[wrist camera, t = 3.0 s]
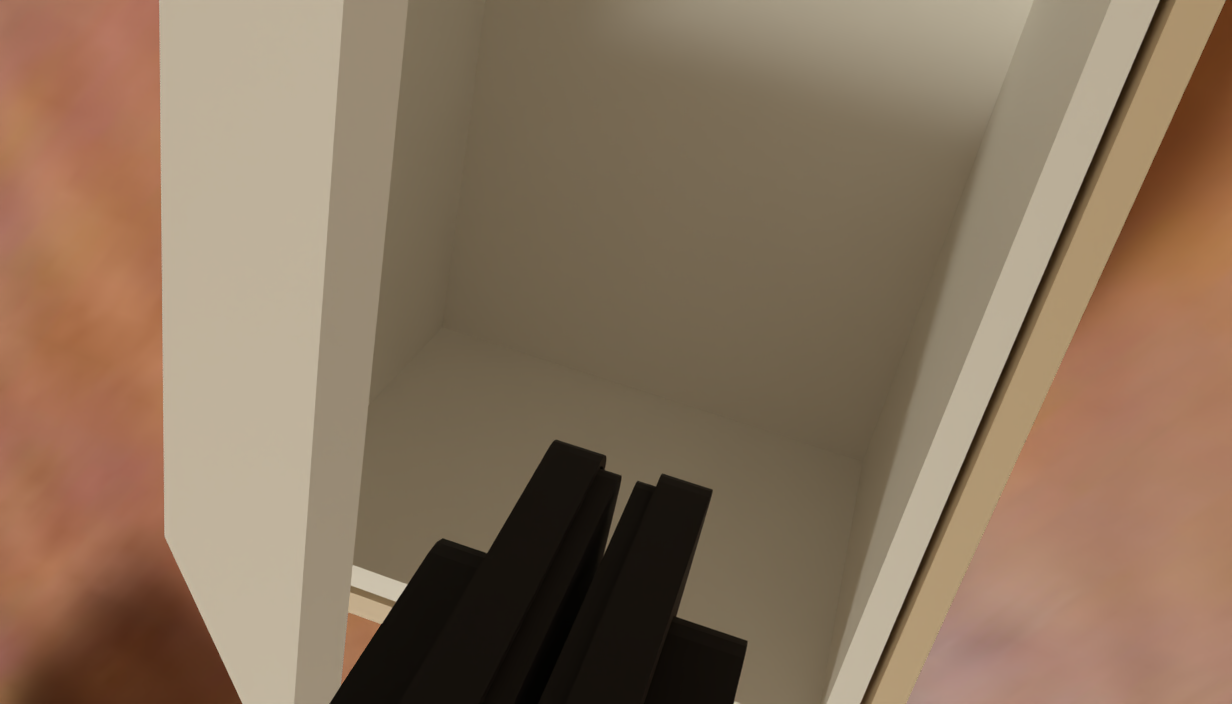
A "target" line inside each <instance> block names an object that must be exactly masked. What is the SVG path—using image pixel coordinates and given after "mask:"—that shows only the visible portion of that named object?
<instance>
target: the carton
mask: <svg viewBox="0 0 1232 704" xmlns="http://www.w3.org/2000/svg"><path fill="white" fill-rule="evenodd" d="M1225 1H1226V0H408V9H407V19H406V29H405V39H404V50H403V60H402V70H401V80H400V90H399V100H398V110H397V121H396V131H395V141H394V151H393V161H392V171H391V181H390V192H389V202H388V212H387V222H386V232H385V242H384V252H383V262H382V273H381V283H380V293H379V303H378V313H377V323H376V333H375V344H374V354H373V364H372V374H371V384H370V394H369V404H368V415H367V425H366V435H365V445H364V455H363V465H362V475H361V485H360V496H359V506H358V516H357V526H356V536H355V546H354V556H353V567H352V577H351V587H350V597H349V607H348V612H349V613H352V614H355V615H358V616H360V617H363V618H366V619H369V620H371V621H374V622H377V623H380V624H382V623H383V621H384V620H385V618H386V616H387V615H388V613H389V612H390V610H391V609H392V607H393V606H394V604H395V603H396V601H397V600H398V598H399V597H400V595H401V594H402V592H403V591H404V589H405V588H406V586H407V584H408V583H409V581H410V580H411V578H412V577H413V575H414V574H415V572H416V571H417V569H418V568H419V566H420V565H421V563H422V562H423V560H424V559H425V557H426V555H427V554H428V552H429V551H430V550H431V549H432V547H433V546H434V545H435V543H436V542H437V541H439V540H441V539H442V538H444V539H447V540H450V541H453V542H456V543H459V544H462V545H465V546H468V547H470V548H473V549H476V550H479V551H482V552H485V553H488V551H489V549H490V547H491V546H492V544H493V542H494V541H495V539H496V537H497V535H498V534H499V532H500V530H501V529H502V527H503V525H504V523H505V522H506V520H507V518H508V517H509V515H510V513H511V511H512V510H513V508H514V506H515V505H516V503H517V501H518V499H519V498H520V496H521V494H522V493H523V491H524V489H525V487H526V486H527V484H528V482H529V481H530V479H531V477H532V476H533V474H534V472H535V470H536V469H537V467H538V465H539V464H540V462H541V460H542V458H543V457H544V455H545V453H546V452H547V450H548V448H549V446H550V445H551V444H552V442H553V441H554V440H559V441H563V442H566V443H569V444H572V445H575V446H578V447H581V448H584V449H588V450H591V451H594V452H597V453H600V454H603V455H606V466H605V470H606V471H609V472H612V473H616V474H619V475H621V476H622V479H621V485H620V489H619V494H618V498H617V502H616V506H615V510H614V514H613V519H612V523H611V527H610V531H609V535H608V539H607V543H606V548H605V551H606V549H607V547H608V545H609V542H610V540H611V538H612V536H613V533H614V531H615V529H616V527H617V524H618V522H619V520H620V518H621V515H622V513H623V511H624V508H625V506H626V504H627V502H628V499H629V497H630V495H631V493H632V490H633V488H634V486H635V484H636V482H637V481H640V482H644V483H647V484H650V485H653V486H656V485H657V483H658V480H659V478H660V476H661V474H662V473H663V474H666V475H669V476H672V477H675V478H678V479H681V480H684V481H688V482H691V483H694V484H697V485H700V486H703V487H706V488H709V489H713V493H712V496H711V500H710V503H709V507H708V510H707V514H706V517H705V521H704V524H703V527H702V531H701V534H700V538H699V541H698V544H697V548H696V551H695V555H694V558H693V561H692V565H691V568H690V572H689V575H688V578H687V582H686V585H685V589H684V592H683V595H682V599H681V602H680V606H679V609H678V612H677V616H676V617H678V618H681V619H684V620H687V621H690V622H693V623H696V624H699V625H702V626H705V627H708V628H711V629H714V630H717V631H720V632H723V633H726V634H729V635H732V636H735V637H738V638H741V639H744V640H747V641H748V643H747V649H746V654H745V658H744V662H743V667H742V671H741V675H740V679H739V683H738V687H737V691H736V695H735V699H734V704H906V702H907V700H908V698H909V696H910V694H911V691H912V689H913V687H914V685H915V683H916V680H917V678H918V676H919V674H920V672H921V669H922V667H923V665H924V663H925V661H926V658H927V656H928V654H929V652H930V650H931V647H932V645H933V643H934V641H935V639H936V636H937V634H938V632H939V630H940V628H941V625H942V623H943V621H944V619H945V617H946V614H947V612H948V610H949V608H950V606H951V603H952V601H953V599H954V597H955V595H956V592H957V590H958V588H959V586H960V584H961V581H962V579H963V577H964V575H965V573H966V570H967V568H968V566H969V564H970V562H971V559H972V557H973V555H974V553H975V551H976V548H977V546H978V544H979V542H980V540H981V537H982V535H983V533H984V531H985V529H986V526H987V524H988V522H989V520H990V518H991V515H992V513H993V511H994V509H995V507H996V504H997V502H998V500H999V498H1000V496H1001V493H1002V491H1003V489H1004V487H1005V485H1006V483H1007V480H1008V478H1009V476H1010V474H1011V472H1012V469H1013V467H1014V465H1015V463H1016V461H1017V458H1018V456H1019V454H1020V452H1021V450H1022V447H1023V445H1024V443H1025V441H1026V439H1027V436H1028V434H1029V432H1030V430H1031V428H1032V425H1033V423H1034V421H1035V419H1036V417H1037V414H1038V412H1039V410H1040V408H1041V406H1042V403H1043V401H1044V399H1045V397H1046V395H1047V392H1048V390H1049V388H1050V386H1051V384H1052V381H1053V379H1054V377H1055V375H1056V373H1057V370H1058V368H1059V366H1060V364H1061V362H1062V359H1063V357H1064V355H1065V353H1066V351H1067V348H1068V346H1069V344H1070V342H1071V340H1072V337H1073V335H1074V333H1075V331H1076V329H1077V326H1078V324H1079V322H1080V320H1081V318H1082V315H1083V313H1084V311H1085V309H1086V307H1087V304H1088V302H1089V300H1090V298H1091V296H1092V293H1093V291H1094V289H1095V287H1096V285H1097V282H1098V280H1099V278H1100V276H1101V274H1102V271H1103V269H1104V267H1105V265H1106V263H1107V260H1108V258H1109V256H1110V254H1111V252H1112V249H1113V247H1114V245H1115V243H1116V241H1117V238H1118V236H1119V234H1120V232H1121V230H1122V227H1123V225H1124V223H1125V221H1126V219H1127V216H1128V214H1129V212H1130V210H1131V208H1132V205H1133V203H1134V201H1135V199H1136V197H1137V194H1138V192H1139V190H1140V188H1141V186H1142V183H1143V181H1144V179H1145V177H1146V175H1147V172H1148V170H1149V168H1150V166H1151V164H1152V161H1153V159H1154V157H1155V155H1156V153H1157V150H1158V148H1159V146H1160V144H1161V142H1162V139H1163V137H1164V135H1165V133H1166V131H1167V128H1168V126H1169V124H1170V122H1171V120H1172V117H1173V115H1174V113H1175V111H1176V109H1177V106H1178V104H1179V102H1180V100H1181V98H1182V95H1183V93H1184V91H1185V89H1186V87H1187V84H1188V82H1189V80H1190V78H1191V76H1192V73H1193V71H1194V69H1195V67H1196V65H1197V62H1198V60H1199V58H1200V56H1201V54H1202V51H1203V49H1204V47H1205V45H1206V43H1207V40H1208V38H1209V36H1210V34H1211V32H1212V29H1213V27H1214V25H1215V23H1216V21H1217V18H1218V16H1219V14H1220V12H1221V10H1222V7H1223V5H1224V3H1225ZM604 554H605V552H604Z"/></svg>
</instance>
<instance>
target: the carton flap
mask: <svg viewBox="0 0 1232 704" xmlns="http://www.w3.org/2000/svg"><path fill="white" fill-rule="evenodd" d="M407 9H408V0H159V17H160V119H161V221H162V323H163V425H164V527H165V538H166V541H167V543H168V545H169V547H170V549H171V551H172V553H173V556H174V558H175V560H176V562H177V564H178V566H179V569H180V571H181V573H182V575H183V577H184V579H185V581H186V584H187V586H188V588H189V590H190V592H191V594H192V596H193V599H194V601H195V603H196V605H197V607H198V609H199V611H200V614H201V616H202V618H203V620H204V622H205V624H206V626H207V629H208V631H209V633H210V635H211V637H212V639H213V642H214V644H215V646H216V648H217V650H218V652H219V654H220V657H221V659H222V661H223V663H224V665H225V667H226V669H227V672H228V674H229V676H230V678H231V680H232V682H233V684H234V687H235V689H236V691H237V693H238V695H239V697H240V699H241V702H242V704H329V703H330V702H331V700H332V699H333V697H334V696H335V694H336V693H337V691H338V690H339V688H340V687H341V678H342V668H343V658H344V648H345V638H346V627H347V617H348V607H349V597H350V587H351V577H352V567H353V556H354V546H355V536H356V526H357V516H358V506H359V496H360V485H361V475H362V465H363V455H364V445H365V435H366V425H367V415H368V404H369V394H370V384H371V374H372V364H373V354H374V344H375V333H376V323H377V313H378V303H379V293H380V283H381V273H382V262H383V252H384V242H385V232H386V222H387V212H388V202H389V192H390V181H391V171H392V161H393V151H394V141H395V131H396V121H397V110H398V100H399V90H400V80H401V70H402V60H403V50H404V39H405V29H406V19H407Z"/></svg>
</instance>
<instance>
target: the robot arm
mask: <svg viewBox="0 0 1232 704" xmlns="http://www.w3.org/2000/svg"><path fill="white" fill-rule="evenodd" d="M605 466H606V455H603V454H600V453H597V452H594V451H591V450H588V449H584V448H581V447H578V446H575V445H572V444H569V443H566V442H563V441H559V440H554V441H553V442H552V444H551V445H550V446H549V448H548V450H547V452H546V453H545V455H544V457H543V458H542V460H541V462H540V464H539V465H538V467H537V469H536V470H535V472H534V474H533V476H532V477H531V479H530V481H529V482H528V484H527V486H526V487H525V489H524V491H523V493H522V494H521V496H520V498H519V499H518V501H517V503H516V505H515V506H514V508H513V510H512V511H511V513H510V515H509V517H508V518H507V520H506V522H505V523H504V525H503V527H502V529H501V530H500V532H499V534H498V535H497V537H496V539H495V541H494V542H493V544H492V546H491V547H490V549H489V551H488V553H485V552H482V551H479V550H476V549H473V548H470V547H468V546H465V545H462V544H459V543H456V542H453V541H450V540H447V539H444V538H442V539H441V540H439V541H437V542H436V543H435V545H434V546H433V547H432V549H431V550H430V551H429V552H428V554H427V555H426V557H425V559H424V560H423V562H422V563H421V565H420V566H419V568H418V569H417V571H416V572H415V574H414V575H413V577H412V578H411V580H410V581H409V583H408V584H407V586H406V588H405V589H404V591H403V592H402V594H401V595H400V597H399V598H398V600H397V601H396V603H395V604H394V606H393V607H392V609H391V610H390V612H389V613H388V615H387V616H386V618H385V620H384V621H383V623H382V624H381V626H380V627H379V629H378V630H377V632H376V633H375V635H374V636H373V638H372V639H371V641H370V642H369V644H368V645H367V647H366V649H365V650H364V652H363V653H362V655H361V656H360V658H359V659H358V661H357V662H356V664H355V665H354V667H353V668H352V670H351V671H350V673H349V674H348V676H347V677H346V679H345V681H344V682H343V684H342V685H341V687H340V688H339V690H338V691H337V693H336V694H335V696H334V697H333V699H332V700H331V702H330V703H329V704H734V699H735V695H736V691H737V687H738V683H739V679H740V675H741V671H742V667H743V662H744V658H745V654H746V649H747V643H748V641H747V640H744V639H741V638H738V637H735V636H732V635H729V634H726V633H723V632H720V631H717V630H714V629H711V628H708V627H705V626H702V625H699V624H696V623H693V622H690V621H687V620H684V619H681V618H678V617H676V616H677V612H678V609H679V606H680V602H681V599H682V595H683V592H684V589H685V585H686V582H687V578H688V575H689V572H690V568H691V565H692V561H693V558H694V555H695V551H696V548H697V544H698V541H699V538H700V534H701V531H702V527H703V524H704V521H705V517H706V514H707V510H708V507H709V503H710V500H711V496H712V493H713V489H709V488H706V487H703V486H700V485H697V484H694V483H691V482H688V481H684V480H681V479H678V478H675V477H672V476H669V475H666V474H663V473H662V474H661V476H660V478H659V480H658V483H657V485H656V486H653V485H650V484H647V483H644V482H640V481H637V482H636V484H635V486H634V488H633V490H632V493H631V495H630V497H629V499H628V502H627V504H626V506H625V508H624V511H623V513H622V515H621V518H620V520H619V522H618V524H617V527H616V529H615V531H614V533H613V536H612V538H611V540H610V542H609V545H608V547H607V549H606V551H605V548H606V543H607V539H608V535H609V531H610V527H611V523H612V519H613V514H614V510H615V506H616V502H617V498H618V494H619V489H620V485H621V479H622V476H621V475H619V474H616V473H612V472H609V471H606V470H605ZM604 552H605V554H604Z"/></svg>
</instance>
